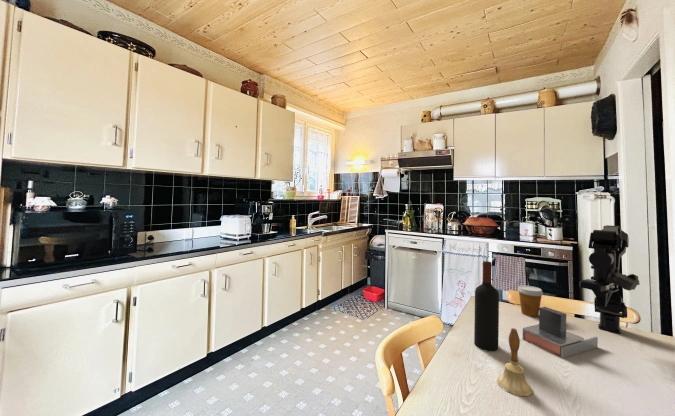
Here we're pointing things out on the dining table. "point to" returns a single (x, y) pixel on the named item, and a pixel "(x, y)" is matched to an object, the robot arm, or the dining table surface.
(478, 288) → the wine bottle
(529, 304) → the disposable coffee cup
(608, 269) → the robot arm
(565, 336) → the lid
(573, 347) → the grey box tray
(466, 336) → the dining table surface
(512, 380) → the hand bell
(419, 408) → the dining table surface
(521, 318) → the dining table surface
